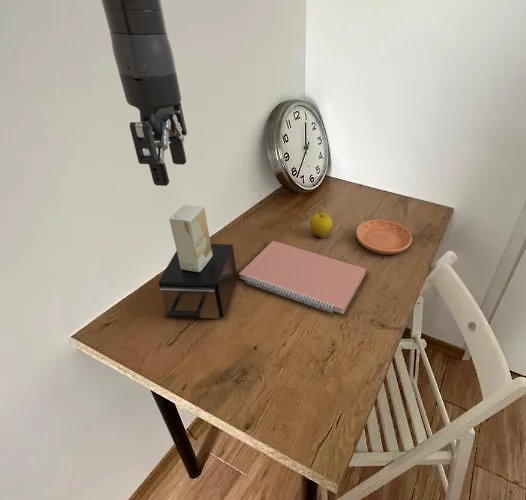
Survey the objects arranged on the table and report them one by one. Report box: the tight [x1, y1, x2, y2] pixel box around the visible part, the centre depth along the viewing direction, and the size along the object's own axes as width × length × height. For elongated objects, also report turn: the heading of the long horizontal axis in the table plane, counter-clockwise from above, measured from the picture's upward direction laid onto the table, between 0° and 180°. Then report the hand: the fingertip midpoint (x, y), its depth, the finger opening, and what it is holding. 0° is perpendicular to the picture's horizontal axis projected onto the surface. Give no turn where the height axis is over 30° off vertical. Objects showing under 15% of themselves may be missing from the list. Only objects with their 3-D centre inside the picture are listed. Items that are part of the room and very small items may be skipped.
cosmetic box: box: [168, 204, 213, 272], centre depth 72 cm, size 6×4×12 cm
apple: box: [309, 209, 333, 239], centre depth 101 cm, size 6×6×8 cm
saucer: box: [355, 219, 413, 256], centre depth 102 cm, size 16×16×3 cm
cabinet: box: [157, 243, 238, 318], centre depth 78 cm, size 14×12×10 cm
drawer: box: [159, 285, 221, 319], centre depth 75 cm, size 17×10×8 cm, turn 1°
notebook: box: [238, 240, 367, 315], centre depth 87 cm, size 27×17×2 cm, turn 67°
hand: (171, 173), depth 60 cm, fingers open, 8 cm apart
